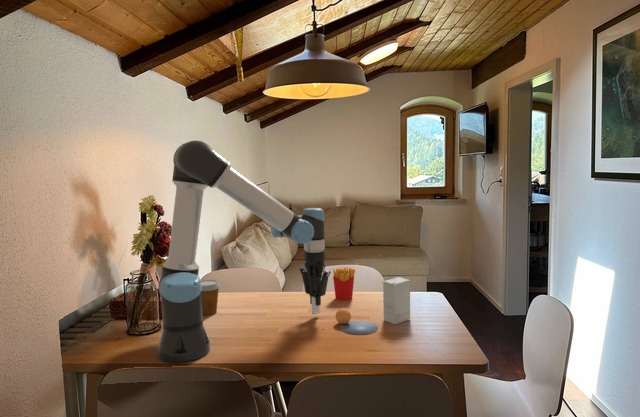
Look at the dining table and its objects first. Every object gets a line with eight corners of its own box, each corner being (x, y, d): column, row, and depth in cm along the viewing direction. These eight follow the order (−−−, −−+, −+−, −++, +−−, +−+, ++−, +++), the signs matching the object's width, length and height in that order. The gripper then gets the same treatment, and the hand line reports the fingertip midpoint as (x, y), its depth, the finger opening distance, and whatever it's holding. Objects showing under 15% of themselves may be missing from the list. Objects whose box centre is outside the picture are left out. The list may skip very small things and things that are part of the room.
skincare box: (398, 315, 169) (398, 276, 168) (411, 320, 164) (411, 279, 163) (382, 320, 164) (382, 280, 163) (394, 325, 159) (394, 283, 158)
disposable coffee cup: (224, 309, 181) (222, 279, 179) (216, 317, 171) (214, 286, 170) (200, 309, 182) (199, 279, 180) (191, 317, 172) (190, 285, 171)
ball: (345, 313, 157) (332, 308, 161) (344, 328, 158) (331, 323, 162) (354, 309, 161) (342, 304, 165) (353, 323, 162) (341, 318, 166)
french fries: (333, 300, 189) (333, 269, 188) (333, 297, 194) (333, 267, 192) (355, 300, 189) (355, 269, 188) (355, 297, 193) (354, 266, 192)
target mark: (364, 337, 149) (364, 337, 148) (332, 329, 156) (332, 328, 156) (385, 326, 159) (385, 325, 159) (353, 318, 167) (353, 318, 167)
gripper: (335, 250, 166) (336, 314, 168) (307, 247, 174) (308, 307, 176) (322, 254, 160) (323, 319, 162) (294, 250, 168) (295, 312, 170)
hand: (315, 313), depth 169 cm, fingers closed
